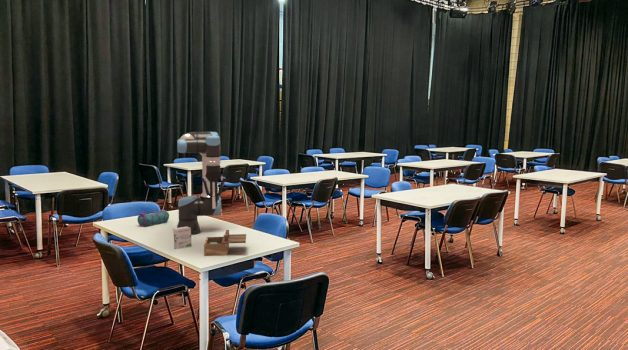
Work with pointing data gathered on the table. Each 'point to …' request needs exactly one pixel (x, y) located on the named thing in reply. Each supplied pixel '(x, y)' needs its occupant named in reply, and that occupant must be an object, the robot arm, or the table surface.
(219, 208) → the robot arm
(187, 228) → the ink box
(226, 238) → the lid
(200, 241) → the table surface
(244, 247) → the table surface
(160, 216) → the pencil case
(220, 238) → the oak box
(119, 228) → the table surface
